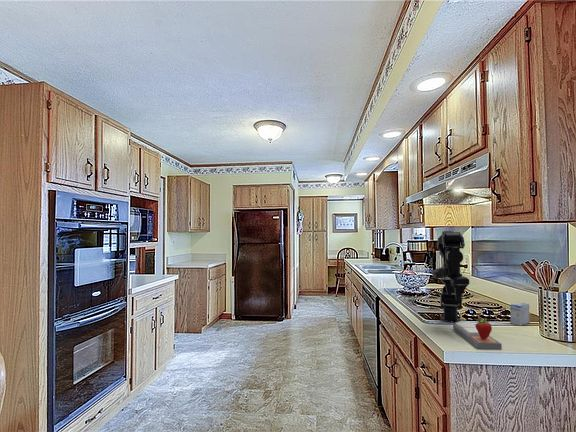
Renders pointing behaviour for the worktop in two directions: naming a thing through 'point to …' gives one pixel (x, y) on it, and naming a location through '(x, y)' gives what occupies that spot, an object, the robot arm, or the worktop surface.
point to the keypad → (470, 330)
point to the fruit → (484, 328)
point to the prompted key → (483, 340)
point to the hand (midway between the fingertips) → (453, 298)
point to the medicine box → (519, 313)
